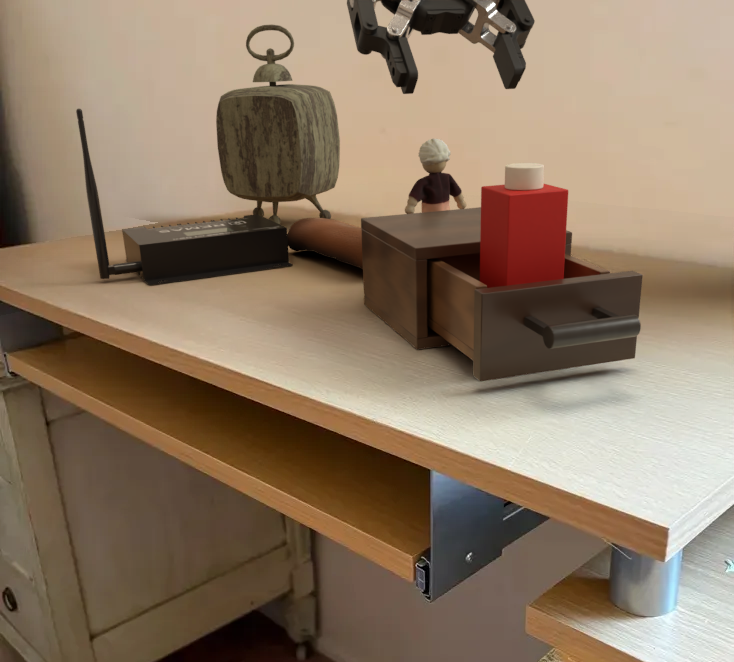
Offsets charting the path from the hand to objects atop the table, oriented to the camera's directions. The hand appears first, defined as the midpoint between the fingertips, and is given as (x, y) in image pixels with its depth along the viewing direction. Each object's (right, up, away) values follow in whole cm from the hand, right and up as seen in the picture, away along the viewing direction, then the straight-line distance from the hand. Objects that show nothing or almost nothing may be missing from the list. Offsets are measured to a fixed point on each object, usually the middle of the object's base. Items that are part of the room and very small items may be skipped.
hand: (464, 83), depth 63 cm
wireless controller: (-27, -9, +30) cm, 41 cm away
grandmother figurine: (0, -9, +28) cm, 29 cm away
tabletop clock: (-19, 0, +51) cm, 54 cm away
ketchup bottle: (+4, -19, -3) cm, 19 cm away
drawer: (+4, -21, -4) cm, 22 cm away
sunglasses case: (-9, -9, +28) cm, 31 cm away
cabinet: (0, -17, +8) cm, 19 cm away
